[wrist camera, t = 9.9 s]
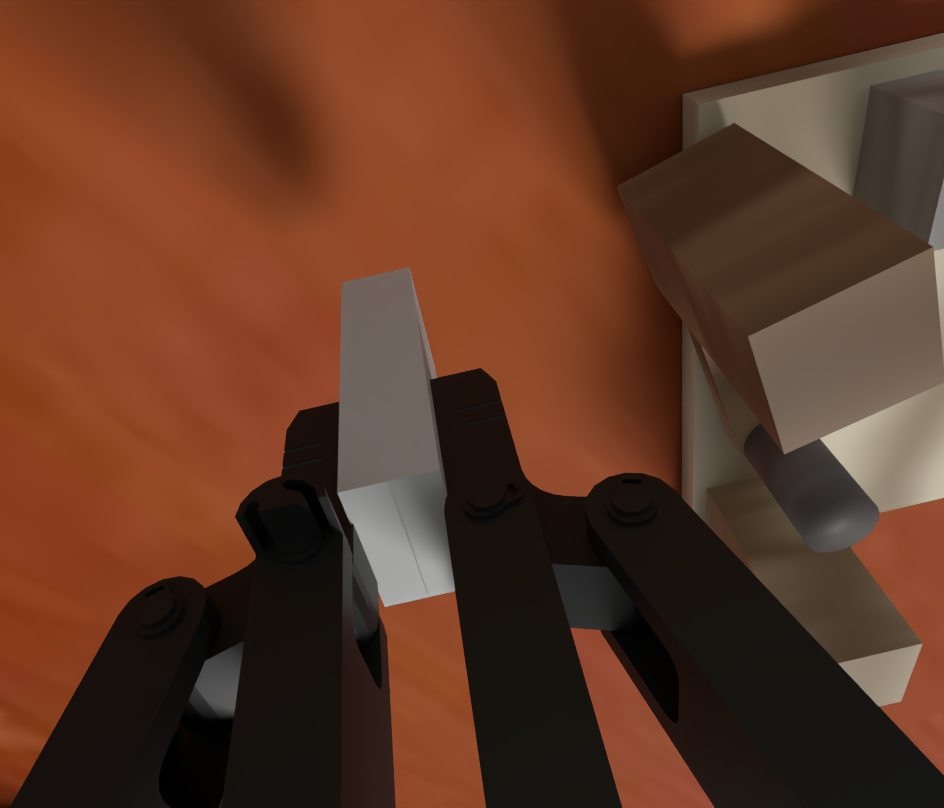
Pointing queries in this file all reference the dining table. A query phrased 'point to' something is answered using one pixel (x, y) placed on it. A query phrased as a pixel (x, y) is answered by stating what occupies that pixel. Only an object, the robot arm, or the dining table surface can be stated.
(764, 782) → the robot arm
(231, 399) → the dining table surface
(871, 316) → the hinged leg
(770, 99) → the stool seat
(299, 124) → the dining table surface
